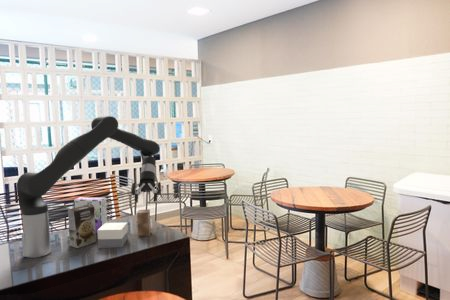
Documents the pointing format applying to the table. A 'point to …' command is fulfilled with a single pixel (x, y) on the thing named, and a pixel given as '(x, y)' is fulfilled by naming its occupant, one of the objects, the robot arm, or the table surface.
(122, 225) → the tower top slab
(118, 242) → the tower base slab
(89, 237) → the coffee box
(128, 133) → the robot arm
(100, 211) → the candy box
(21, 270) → the table surface
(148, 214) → the walnut block
